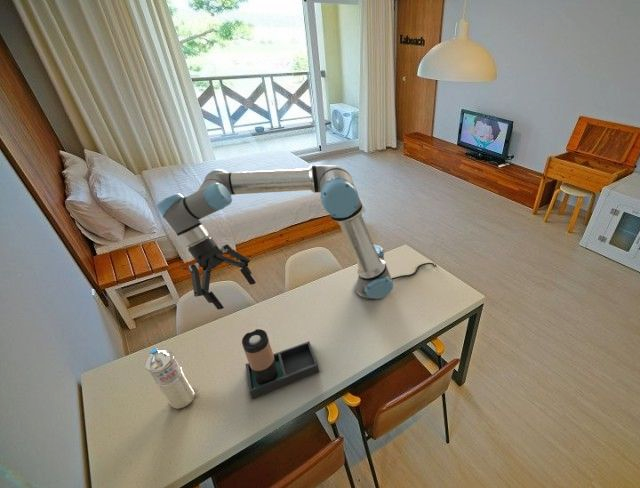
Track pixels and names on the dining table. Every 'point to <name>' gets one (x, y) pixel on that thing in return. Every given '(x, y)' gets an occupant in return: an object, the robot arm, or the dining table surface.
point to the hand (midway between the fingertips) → (237, 295)
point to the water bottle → (170, 378)
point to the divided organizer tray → (286, 369)
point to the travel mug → (260, 356)
